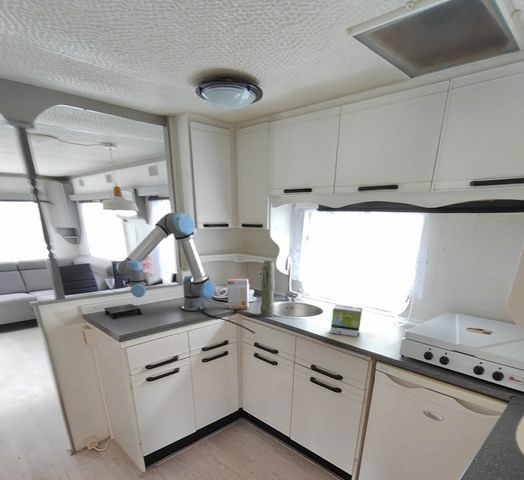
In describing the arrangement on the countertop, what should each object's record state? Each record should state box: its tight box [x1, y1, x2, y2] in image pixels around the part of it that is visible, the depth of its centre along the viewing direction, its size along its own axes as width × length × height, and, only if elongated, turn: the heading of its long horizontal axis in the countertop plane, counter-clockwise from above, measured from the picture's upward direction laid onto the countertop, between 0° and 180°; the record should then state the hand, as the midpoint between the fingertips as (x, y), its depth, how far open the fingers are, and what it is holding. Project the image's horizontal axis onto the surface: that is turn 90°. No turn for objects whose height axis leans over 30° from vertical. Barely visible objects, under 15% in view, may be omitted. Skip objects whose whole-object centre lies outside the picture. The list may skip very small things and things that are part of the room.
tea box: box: [330, 304, 363, 337], centre depth 183 cm, size 15×10×15 cm
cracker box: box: [227, 278, 250, 311], centre depth 228 cm, size 14×6×21 cm, turn 84°
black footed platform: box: [103, 303, 142, 320], centre depth 214 cm, size 16×18×4 cm
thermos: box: [260, 260, 276, 318], centre depth 211 cm, size 9×12×35 cm
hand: (135, 279), depth 212 cm, fingers closed on packet, 6 cm apart
